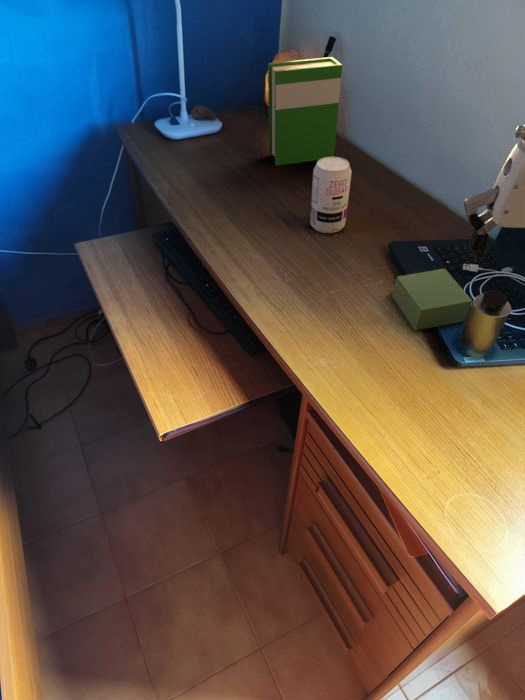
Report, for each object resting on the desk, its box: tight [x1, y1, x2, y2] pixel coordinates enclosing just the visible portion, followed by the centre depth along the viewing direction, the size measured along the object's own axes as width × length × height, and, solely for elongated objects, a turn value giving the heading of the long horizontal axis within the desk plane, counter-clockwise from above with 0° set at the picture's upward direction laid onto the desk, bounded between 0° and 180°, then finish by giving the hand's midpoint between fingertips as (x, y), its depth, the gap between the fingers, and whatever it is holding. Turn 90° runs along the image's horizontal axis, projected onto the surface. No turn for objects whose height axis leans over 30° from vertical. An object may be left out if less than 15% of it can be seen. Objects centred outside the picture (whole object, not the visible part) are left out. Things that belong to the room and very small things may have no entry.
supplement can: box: [309, 156, 353, 234], centre depth 105 cm, size 8×8×15 cm
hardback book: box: [267, 56, 343, 167], centre depth 128 cm, size 18×7×24 cm, turn 105°
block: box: [392, 268, 473, 331], centre depth 87 cm, size 10×10×5 cm
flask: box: [456, 289, 512, 359], centre depth 78 cm, size 6×6×11 cm
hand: (507, 254), depth 69 cm, fingers open, 9 cm apart
